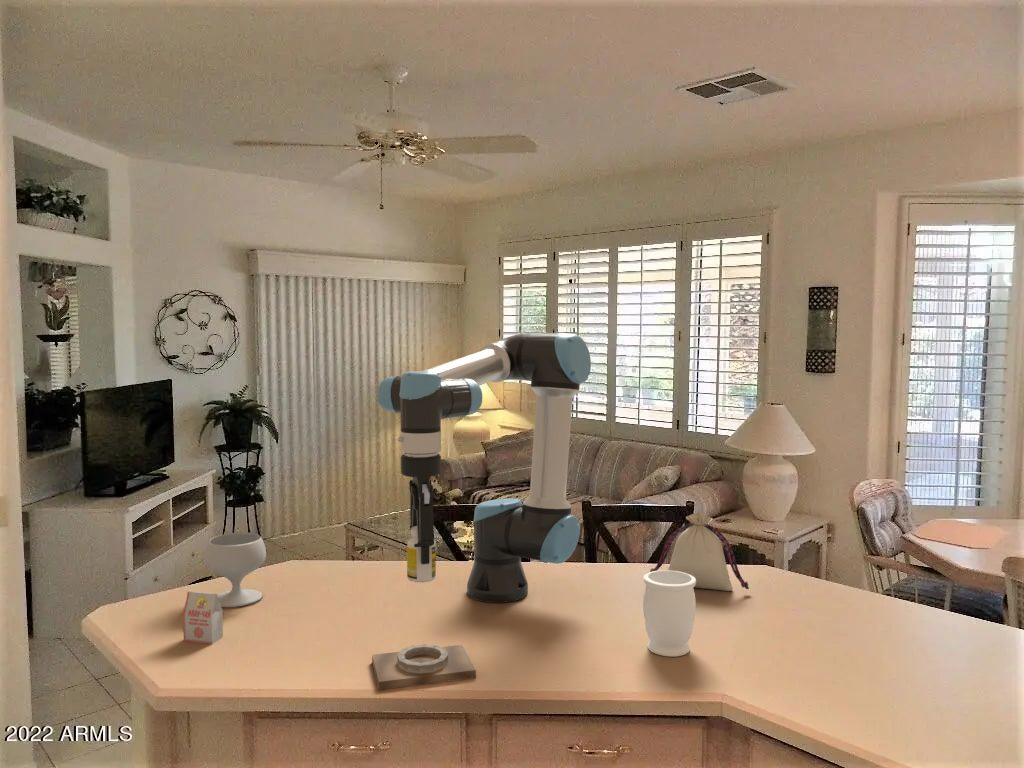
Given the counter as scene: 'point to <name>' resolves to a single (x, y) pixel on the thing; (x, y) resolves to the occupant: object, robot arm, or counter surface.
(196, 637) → the white carton
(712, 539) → the pouch
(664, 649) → the jar
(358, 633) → the counter surface
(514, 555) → the robot arm
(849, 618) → the counter surface
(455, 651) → the mount board
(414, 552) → the supplement bottle
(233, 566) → the chalice
